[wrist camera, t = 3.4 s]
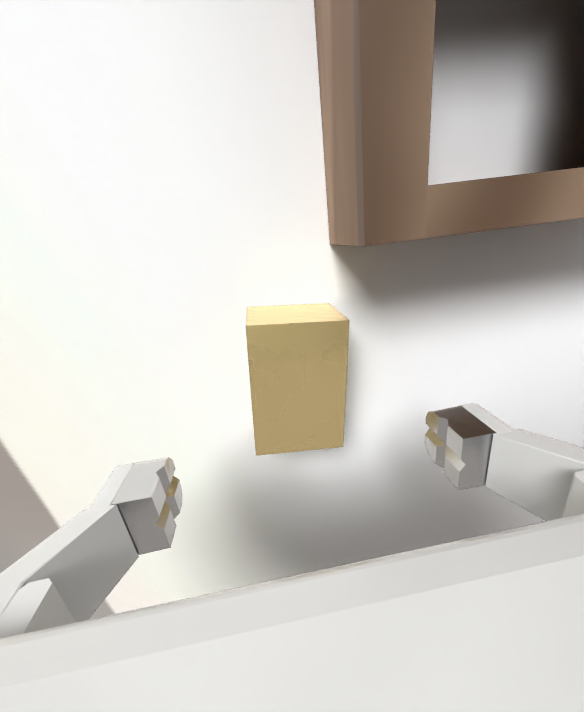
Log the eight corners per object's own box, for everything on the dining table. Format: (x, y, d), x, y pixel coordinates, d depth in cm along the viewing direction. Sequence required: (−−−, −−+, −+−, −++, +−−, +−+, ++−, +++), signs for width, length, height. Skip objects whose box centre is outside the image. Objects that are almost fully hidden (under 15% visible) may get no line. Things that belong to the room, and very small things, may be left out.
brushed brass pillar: (328, 302, 15) (349, 320, 12) (325, 407, 17) (342, 446, 14) (246, 306, 15) (245, 325, 11) (255, 413, 17) (255, 455, 13)
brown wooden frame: (668, -134, 11) (948, -383, 6) (590, 210, 15) (728, 198, 10) (306, -119, 10) (348, -399, 5) (329, 244, 14) (364, 246, 10)
